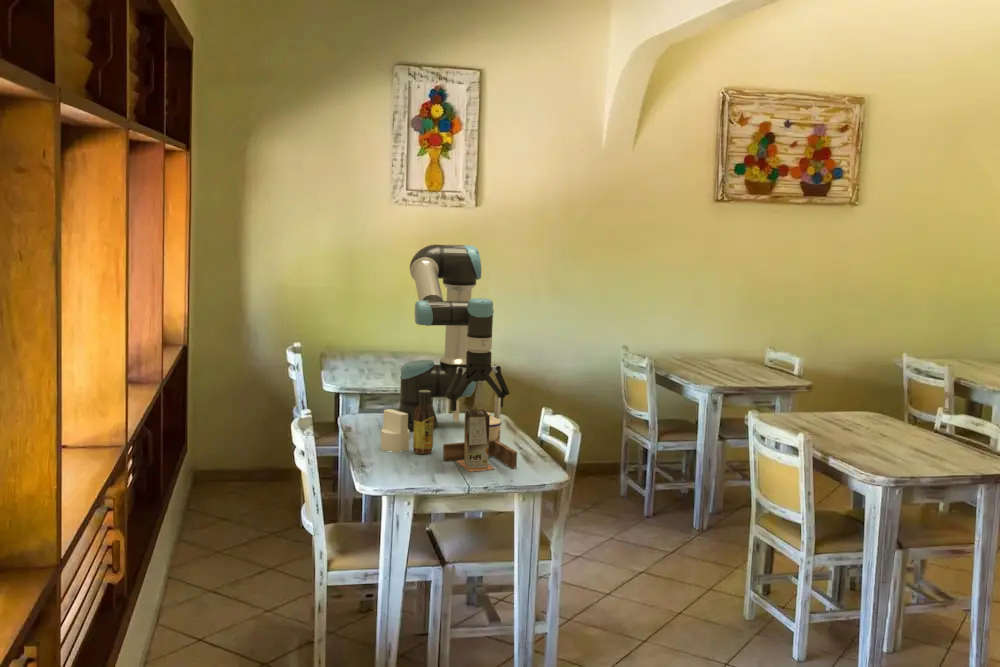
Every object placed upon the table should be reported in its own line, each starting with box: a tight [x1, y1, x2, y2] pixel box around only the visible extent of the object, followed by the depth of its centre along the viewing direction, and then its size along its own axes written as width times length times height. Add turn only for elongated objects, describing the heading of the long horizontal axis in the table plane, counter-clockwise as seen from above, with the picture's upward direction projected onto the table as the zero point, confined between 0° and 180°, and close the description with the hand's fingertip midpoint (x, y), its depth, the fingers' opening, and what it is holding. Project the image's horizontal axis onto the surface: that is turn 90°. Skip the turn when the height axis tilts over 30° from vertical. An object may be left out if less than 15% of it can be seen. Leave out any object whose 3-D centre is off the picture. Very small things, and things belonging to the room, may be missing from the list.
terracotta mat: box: [455, 459, 496, 473], centre depth 270 cm, size 11×8×1 cm
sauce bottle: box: [412, 390, 434, 455], centre depth 281 cm, size 6×6×20 cm
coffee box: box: [463, 409, 490, 469], centre depth 268 cm, size 9×6×16 cm
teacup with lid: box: [486, 412, 502, 442], centre depth 291 cm, size 12×9×12 cm
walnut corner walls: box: [442, 440, 518, 469], centre depth 271 cm, size 15×18×5 cm
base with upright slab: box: [380, 408, 410, 453], centre depth 285 cm, size 9×9×12 cm
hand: (476, 419), depth 268 cm, fingers open, 13 cm apart
